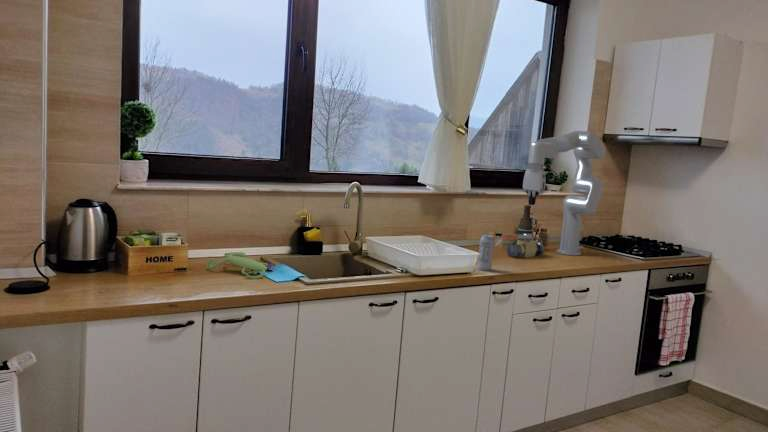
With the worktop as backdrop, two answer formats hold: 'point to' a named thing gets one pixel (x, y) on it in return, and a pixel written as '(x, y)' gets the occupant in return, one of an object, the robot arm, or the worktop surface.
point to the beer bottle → (525, 222)
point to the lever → (516, 236)
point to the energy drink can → (485, 252)
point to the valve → (525, 248)
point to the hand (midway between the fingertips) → (531, 204)
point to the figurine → (243, 264)
